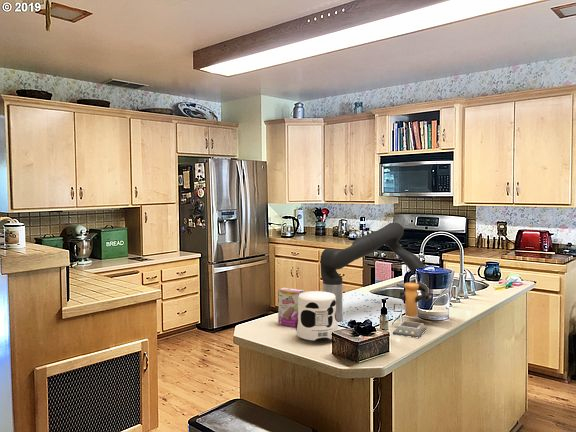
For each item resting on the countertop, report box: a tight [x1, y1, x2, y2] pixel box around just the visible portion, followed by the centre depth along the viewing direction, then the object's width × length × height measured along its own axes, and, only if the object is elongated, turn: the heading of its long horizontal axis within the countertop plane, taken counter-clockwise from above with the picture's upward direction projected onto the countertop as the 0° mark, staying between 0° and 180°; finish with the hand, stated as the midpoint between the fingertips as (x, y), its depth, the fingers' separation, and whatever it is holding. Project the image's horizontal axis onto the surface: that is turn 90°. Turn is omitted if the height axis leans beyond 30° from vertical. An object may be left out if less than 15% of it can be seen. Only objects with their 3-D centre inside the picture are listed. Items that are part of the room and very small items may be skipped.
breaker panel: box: [392, 320, 427, 339], centre depth 201 cm, size 11×12×3 cm
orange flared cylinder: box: [403, 282, 419, 318], centre depth 201 cm, size 6×6×14 cm
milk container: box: [295, 290, 339, 343], centre depth 193 cm, size 17×17×18 cm
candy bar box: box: [277, 287, 305, 329], centre depth 211 cm, size 11×5×16 cm, turn 59°
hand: (409, 299), depth 199 cm, fingers closed on orange flared cylinder, 5 cm apart
